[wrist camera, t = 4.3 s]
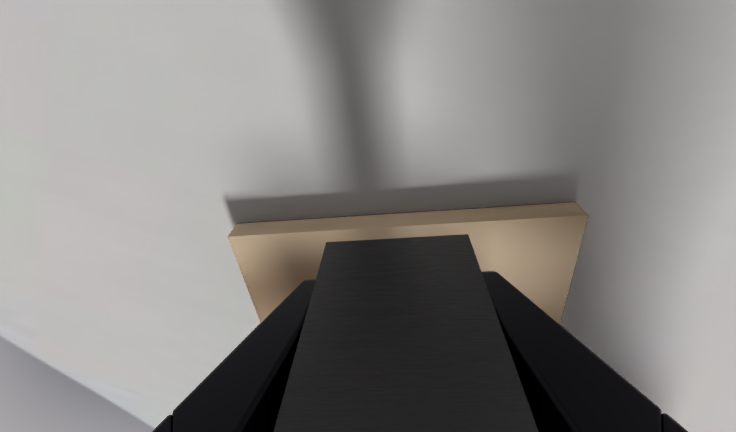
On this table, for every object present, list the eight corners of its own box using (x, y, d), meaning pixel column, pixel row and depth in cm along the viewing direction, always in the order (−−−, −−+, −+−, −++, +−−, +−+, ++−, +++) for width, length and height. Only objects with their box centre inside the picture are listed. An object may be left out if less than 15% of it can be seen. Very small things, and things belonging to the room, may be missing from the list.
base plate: (511, 474, 25) (516, 490, 24) (326, 471, 26) (324, 487, 25) (575, 202, 13) (588, 215, 12) (237, 223, 15) (227, 236, 14)
